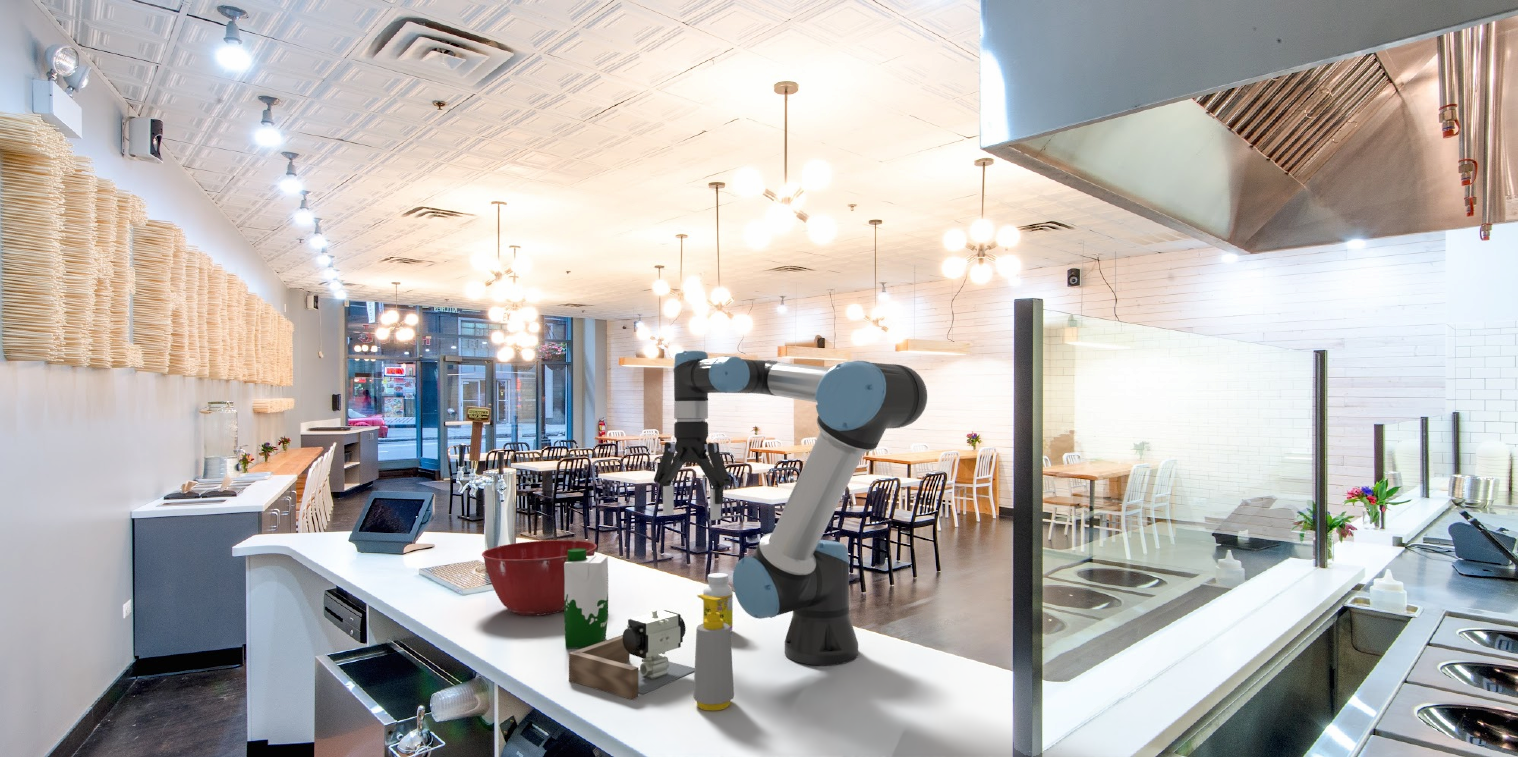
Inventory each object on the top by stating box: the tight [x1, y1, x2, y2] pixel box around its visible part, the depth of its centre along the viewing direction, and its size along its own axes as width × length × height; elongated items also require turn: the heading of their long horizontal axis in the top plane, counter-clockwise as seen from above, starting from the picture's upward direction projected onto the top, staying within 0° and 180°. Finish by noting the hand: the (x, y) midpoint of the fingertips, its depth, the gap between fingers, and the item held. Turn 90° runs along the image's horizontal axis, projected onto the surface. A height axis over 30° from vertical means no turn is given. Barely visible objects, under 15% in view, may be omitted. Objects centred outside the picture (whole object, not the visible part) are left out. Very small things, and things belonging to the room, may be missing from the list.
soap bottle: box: [693, 594, 735, 712], centre depth 123 cm, size 7×7×18 cm
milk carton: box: [563, 548, 609, 649], centre depth 157 cm, size 9×9×20 cm
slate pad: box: [638, 661, 695, 695], centre depth 136 cm, size 9×15×1 cm, turn 145°
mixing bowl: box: [481, 539, 598, 616], centre depth 186 cm, size 28×28×16 cm
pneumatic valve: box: [622, 609, 687, 680], centre depth 136 cm, size 6×12×12 cm, turn 137°
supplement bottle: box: [702, 572, 734, 633], centre depth 164 cm, size 7×7×13 cm
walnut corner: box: [568, 634, 640, 700], centre depth 136 cm, size 16×14×5 cm
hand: (691, 517), depth 160 cm, fingers open, 13 cm apart
